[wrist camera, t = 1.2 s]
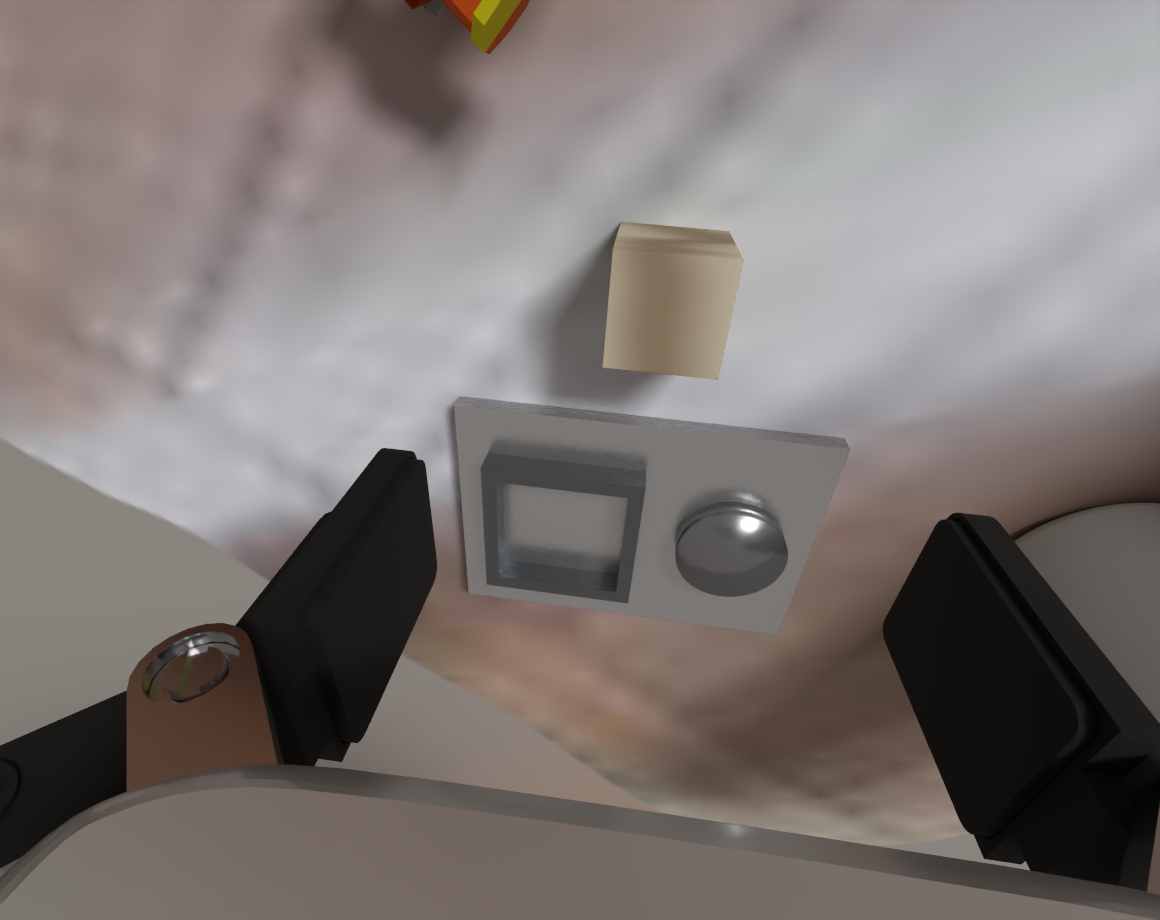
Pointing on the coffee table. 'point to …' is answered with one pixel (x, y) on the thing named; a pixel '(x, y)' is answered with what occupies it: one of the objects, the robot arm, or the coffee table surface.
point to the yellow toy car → (480, 17)
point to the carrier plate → (640, 512)
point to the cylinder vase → (1109, 584)
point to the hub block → (670, 299)
